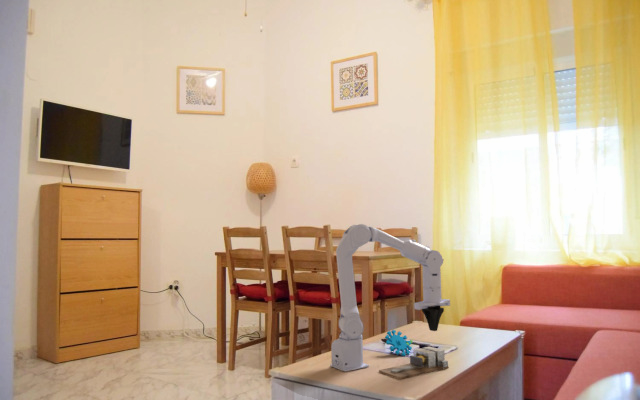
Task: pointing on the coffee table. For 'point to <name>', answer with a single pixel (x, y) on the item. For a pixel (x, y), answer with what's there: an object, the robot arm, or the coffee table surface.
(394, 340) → the gear
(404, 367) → the board
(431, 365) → the link
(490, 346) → the coffee table surface
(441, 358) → the link
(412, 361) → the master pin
